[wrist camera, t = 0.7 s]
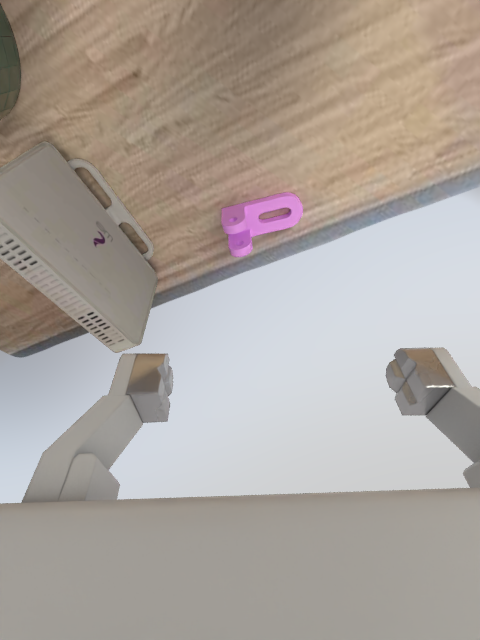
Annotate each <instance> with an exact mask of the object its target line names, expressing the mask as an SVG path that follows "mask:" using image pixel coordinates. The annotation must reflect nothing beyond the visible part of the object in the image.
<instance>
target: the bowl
mask: <svg viewBox="0 0 480 640" xmlns="http://www.w3.org/2000/svg"><path fill="white" fill-rule="evenodd" d="M20 81H21V70H20V60H19V54H18V49H17V46H16V42H15V38H14V35H13V32H12V30H11V27H10V24H9V22H8V19H7V17H6V15H5V13H4V11H3V9H2V6H1V4H0V121H1V120H2V119H3V118H4V117H6V116H7V115H8V114H9V113H10V111H11V110H12V108H13V107H14V105H15V103H16V100H17V98H18V94H19V90H20Z"/></svg>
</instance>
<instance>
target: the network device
mask: <svg viewBox="0 0 480 640" xmlns="http://www.w3.org/2000/svg"><path fill="white" fill-rule="evenodd" d="M78 167H83V168H86V169H87V170H89V172H90V173H91V174H92V175H93V177H94V178H95V179H96V181H97V182H98V183H99V184H100V186H101V187H102V188H103V190H104V191H105V192H106V194H107V195H108V196H109V197H110V199H111V202H112V204H111V206H109V207H107V208H106V209H104V207H103V206H102V205H101V204H100V203H99V201H98V200H97V199H96V198H95V196H94V195H93V194H92V193H91V191H90V190H89V189H88V188H87V186H86V185H85V184H84V183H83V181H82V180H81V179H80V178H79V176H78V175H77V174H76V173H75V172H74V169H76V168H78ZM122 222H126V223H129V224H130V225H131V226H132V227H133V228H134V230H135V231H136V232H137V234H138V235H139V236H140V238H141V239H142V240H143V241H144V243H145V244H146V245H147V247H148V251H147V252H146V253H143V254H141V253H140V252H139V251H138V250H137V248H136V247H135V246H134V245H133V243H132V242H131V241H130V240H129V239H128V237H127V236H126V235H125V234H124V232H123V231H122V230H121V229H120V227H119V226H118V225H119V224H120V223H122ZM153 252H154V246H153V243H152V242H151V240H150V239H149V237H148V236H147V235H146V233H145V232H144V231H143V229H142V228H141V227H140V225H139V224H138V223H137V221H136V220H135V219H134V217H133V216H132V215H131V213H130V212H129V211H128V209H127V208H126V207H125V205H124V204H123V203H122V201H121V200H120V199H119V197H118V196H117V195H116V193H115V192H114V191H113V189H112V188H111V187H110V185H109V184H108V183H107V181H106V180H105V179H104V177H103V176H102V175H101V174H100V172H99V171H98V170H97V168H96V167H95V166H93V165H92V164H91V163H89V162H88V161H86V160H83V159H71V160H69V161H67V162H66V160H65V159H64V158H63V157H62V155H61V154H60V153H59V152H58V150H57V149H56V148H55V147H54V146H53V145H51V144H50V143H48V142H46V141H43V142H41V143H39V144H38V145H36V146H34V147H33V148H31V149H30V150H28V151H26V152H25V153H23V154H22V155H20V156H18V157H17V158H15V159H13V160H12V161H10V162H9V163H7V164H5V165H4V166H2V167H0V258H1V259H2V260H3V261H4V262H5V263H7V264H8V265H9V266H10V267H11V268H13V269H14V270H15V271H16V272H17V273H19V274H20V275H21V276H22V277H23V278H25V279H26V280H27V281H28V282H30V283H31V284H32V285H33V286H34V287H36V288H37V289H38V290H39V291H40V292H42V293H43V294H44V295H45V296H46V297H48V298H49V299H50V300H51V301H52V302H54V303H55V304H56V305H57V306H58V307H60V308H61V309H62V310H63V311H64V312H66V313H67V314H68V315H69V316H71V317H72V318H73V319H74V320H75V321H77V322H78V323H79V324H80V325H81V326H83V327H84V328H85V329H86V330H87V331H89V332H90V333H91V334H92V335H93V336H95V337H96V338H97V339H98V340H99V341H101V342H102V343H103V344H104V345H106V346H107V347H108V348H109V349H110V350H112V351H113V352H115V353H118V352H121V351H124V350H127V349H130V348H132V347H135V346H138V345H140V344H141V342H142V339H143V335H144V331H145V327H146V323H147V320H148V316H149V313H150V309H151V305H152V301H153V298H154V294H155V290H156V287H157V283H158V277H157V274H156V272H155V271H154V270H153V268H152V267H151V266H150V265H149V263H148V262H147V260H149V259H150V258H151V257H152V255H153Z"/></svg>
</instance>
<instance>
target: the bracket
mask: <svg viewBox="0 0 480 640" xmlns="http://www.w3.org/2000/svg"><path fill="white" fill-rule="evenodd" d="M285 207H288V208H290V211H289V213H287V214H285V215H280V216H276V217H272V218H268V219H264V220H261V219H259V215H260V214H262V213H265V212H269V211H273V210H277V209H281V208H285ZM302 213H303V207H302V204H301V202H300V199H299V198H298V197H297V196H296V195H295V194H292V193H288V192H285V193H280V194H276V195H273V196H269V197H265V198H261V199H257V200H253V201H249V202H245V203H241V204H237V205H234V206H230V207H226V208H222V226H223V229H224V232H225V233H226V234H228V235H229V249H230V252H231V255H232V256H234V257H242V256H245V255H247V254H249V253H250V252H251V251H252V240H251V238H252V237H253V236H256V235H261V234H265V233H269V232H273V231H277V230H282V229H286V228H290V227H292V226H294V225H295V224H297V223H298V221H299V220H300V219H301V217H302Z"/></svg>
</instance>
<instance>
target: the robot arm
mask: <svg viewBox="0 0 480 640" xmlns="http://www.w3.org/2000/svg"><path fill="white" fill-rule="evenodd" d="M394 356H395V358H396V359H395V360H393V361H391V362H390V363H389V365H388V366H387V368H386V378H387V382H388V384H389V387H390V388H391V389H392V390H394V391H395V392H396V396H395V400H396V402H397V405H398V407H399V409H400V411H401V414H402V415H427V416H426V417H427V418H428V419H429V420H430V421H431V422H432V423H433V424H434V425H435V426H436V427H437V428H438V429H439V430H440V431H441V432H442V433H443V434H445V435H446V436H447V437H448V438H449V439H450V440H451V441H452V442H453V443H454V444H455V445H456V446H457V447H458V448H459V449H460V450H461V451H462V452H463V453H464V454H465V455H467V456H468V458H470V459H471V460H472V461H473V462H474V464H472V465H471V466H469V467H468V468H466V469H465V470H464V472H463V475H464V476H465V479H466V480H467V483H468V484H469V486H470V488H457V489H456V488H455V489H454V488H453V489H423V490H397V491H396V490H395V491H394V490H393V491H363V492H333V493H305V494H304V493H303V494H274V495H244V496H214V497H184V498H155V499H124V500H117V496H118V491H119V486H120V484H119V483H118V481H117V480H116V479H115V478H114V476H113V475H112V474H111V473H110V472H109V471H108V470H109V469H110V467H111V466H112V465H113V463H114V462H115V461H116V459H117V458H118V457H119V455H120V454H121V453H122V452H123V450H124V449H125V447H126V446H127V445H128V443H129V442H130V441H131V439H132V438H133V437H134V435H135V434H136V433H137V431H138V430H139V429H140V428H141V426H142V425H143V423H146V422H147V423H148V422H166V421H168V415H169V408H170V402H169V398H168V396H169V395H170V394H171V393H172V387H173V373H172V368H171V367H170V366H169V357H168V354H123V355H122V356H121V357H120V360H119V363H118V366H117V369H116V372H115V375H114V378H113V381H112V385H111V388H110V391H109V394H108V395H107V396H103V397H102V398H101V399H100V400H99V401H97V402H96V403H95V404H94V405H93V406H92V407H91V408H90V409H89V410H88V411H87V412H86V413H85V414H84V415H83V416H82V417H80V418H79V419H78V420H77V421H76V422H75V423H74V424H73V425H72V426H71V427H70V428H69V429H68V430H67V431H66V432H65V433H64V434H62V435H61V436H60V437H59V438H58V439H57V440H56V441H55V442H54V443H53V444H52V445H51V446H50V447H49V448H48V449H47V450H45V451H44V452H43V454H42V456H41V458H40V461H39V463H38V466H37V468H36V470H35V472H34V475H33V477H32V479H31V482H30V484H29V486H28V489H27V491H26V493H25V496H24V498H23V500H22V503H5V504H0V640H480V389H479V388H477V387H472V386H471V385H470V383H469V382H468V380H467V379H466V377H465V376H464V374H463V373H462V372H461V370H460V369H459V367H458V365H457V364H456V363H455V361H454V360H453V358H452V357H451V355H450V354H449V352H448V351H447V350H446V349H445V348H401V349H398V350H397V351H396V353H395V354H394Z"/></svg>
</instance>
